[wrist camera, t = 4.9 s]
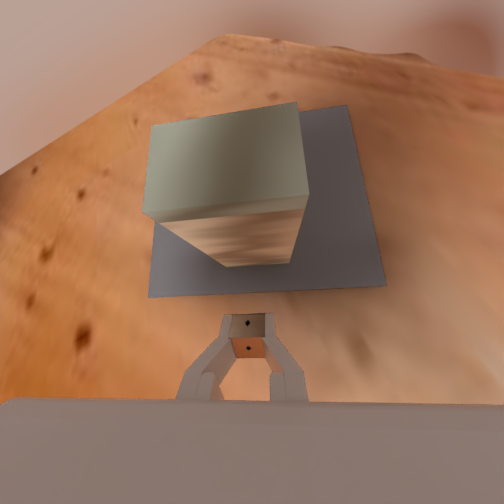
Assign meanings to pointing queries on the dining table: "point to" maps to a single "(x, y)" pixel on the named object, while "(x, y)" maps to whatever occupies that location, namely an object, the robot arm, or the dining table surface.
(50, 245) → the dining table surface
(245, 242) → the birch block
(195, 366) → the robot arm
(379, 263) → the rubber mat
